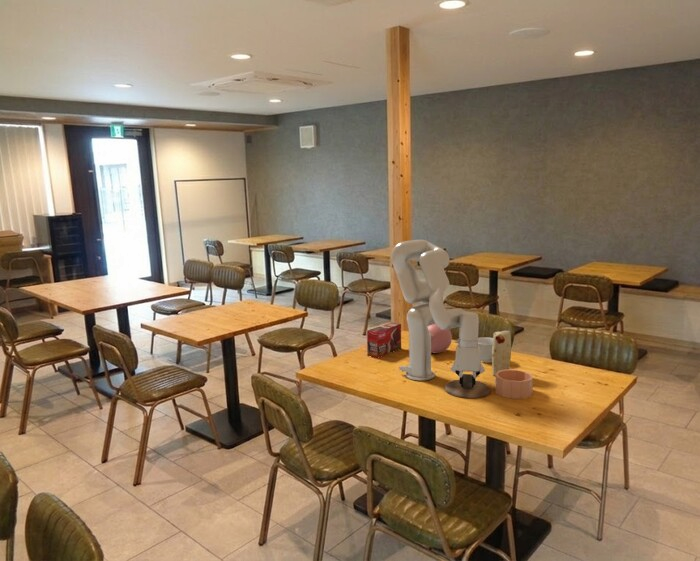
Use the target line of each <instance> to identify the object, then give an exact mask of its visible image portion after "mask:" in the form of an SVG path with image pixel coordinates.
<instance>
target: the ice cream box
mask: <svg viewBox="0 0 700 561" xmlns="http://www.w3.org/2000/svg"><path fill="white" fill-rule="evenodd" d="M398 349H400V350H402V323H398V322H394V321H391V322H390V321H389V322H388V323H384V324H381V325H378V326H376V327H371V328H369V329H367V330H366V356H367V357H369V356H371V357H370V358H373V357H374V358H373V359H379V358H378V357H380V358H382V357H385V356H387V355H390V354H391V352H392V353H394V352H393V351H395V352H397V351H399V350H398ZM396 350H397V351H396ZM389 353H390V354H389ZM386 354H387V355H386ZM384 355H385V356H384ZM381 356H382V357H381Z"/></svg>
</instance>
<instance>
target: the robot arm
mask: <svg viewBox="0 0 700 561" xmlns="http://www.w3.org/2000/svg"><path fill="white" fill-rule="evenodd" d="M390 256H391V257H390V258H391V260H390V261H391V263H392V266H393V269H394V271H395V273H396V277H397V279H398V283H399V286H400V289H401V292H402V296H403V298H404V300H405V302H406V303H408V304H417V303H418V304H419V303H421V304H419V305H415V306H413V307H412V308H410V309H409V310H408V312H407V313H406V323H407V326H408V327H407V329H408V347H409V348H408V356H409V358H408V359H409V360H408V361H409V362H408V365H399V368H398V370H399V371H401V372H406V373H405V377H406V378H407V379H410V380H413V381H421V382H423V381H428V380H431V379H434V377H435V375H436V374H435V372H434V371H432V352H431V335H430V332H429V330H428V326H429V325H432V324H435V323H436V325H437V326H438V327H439V328H440V329H442V330H451V329H455V328H458V338H457V339H455V341H454V342H455V344H457V346H456V347H455V348H456V349H455V357H454V362H453V364H452V366H451V367H450V370H451V371H452V372H453V373H455V374H456V375H457V376H458V377H459V379H458V380H459V384H461V387H463V374H464V372H472V388H474V385H475V381H477V380H476V379H477V377H479V375H480V374H482V373H485V371H486V369H485V367H484V366H483V364H482V362H481V352H480V347H479V346H478V338H479V319H480V318H479V314H478V313H476V312H474V311H473V312H472V311H467V310H464V309H463V308H458V307H457V308H452V309H447V310H446V307H445V304H444V299H443V298H444V294H445V292H446V290H447V288H448V287H450V281H449V278H448V276H447V274H446V273H447V272H446V271H445V268H447V267H448V266H449V264H450V255H449V254H448V252H446V250H445V249H443V248H442V247H439V246H437V245H436V244H434V243H432V242H430V241H429V240H426V239H414V240H413V239H411V240H403V241H401V242H398V243H397V244H396V245H394V247H393V248H392V251H391V254H390ZM413 260H418V264H419V266H420V268H421V271H422V274H423V276H424V278H423V279H419V275H418V273H417V270H416V268H415V266H414V265H413V264H412V263H411V262H410V261H413Z"/></svg>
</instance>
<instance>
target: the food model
mask: <svg viewBox="0 0 700 561" xmlns="http://www.w3.org/2000/svg"><path fill="white" fill-rule="evenodd" d="M511 336H512V335H511V331H510V330H502V331H494V332H493V337H492V338H493V347H492V362H491V364H492V366H491V367H492V374H493V376H495V377H496V373H497V372H498V371H501V370H510V365H511V357H512V337H511Z"/></svg>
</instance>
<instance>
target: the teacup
mask: <svg viewBox="0 0 700 561" xmlns="http://www.w3.org/2000/svg"><path fill="white" fill-rule="evenodd" d="M478 346H479V347H480V352H481V361H482V362H481V363H484V362H485V363H487V364H489V363H492V347H493V337H487V336H486V337H483V336H482V337H481V336H480V337H478Z"/></svg>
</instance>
